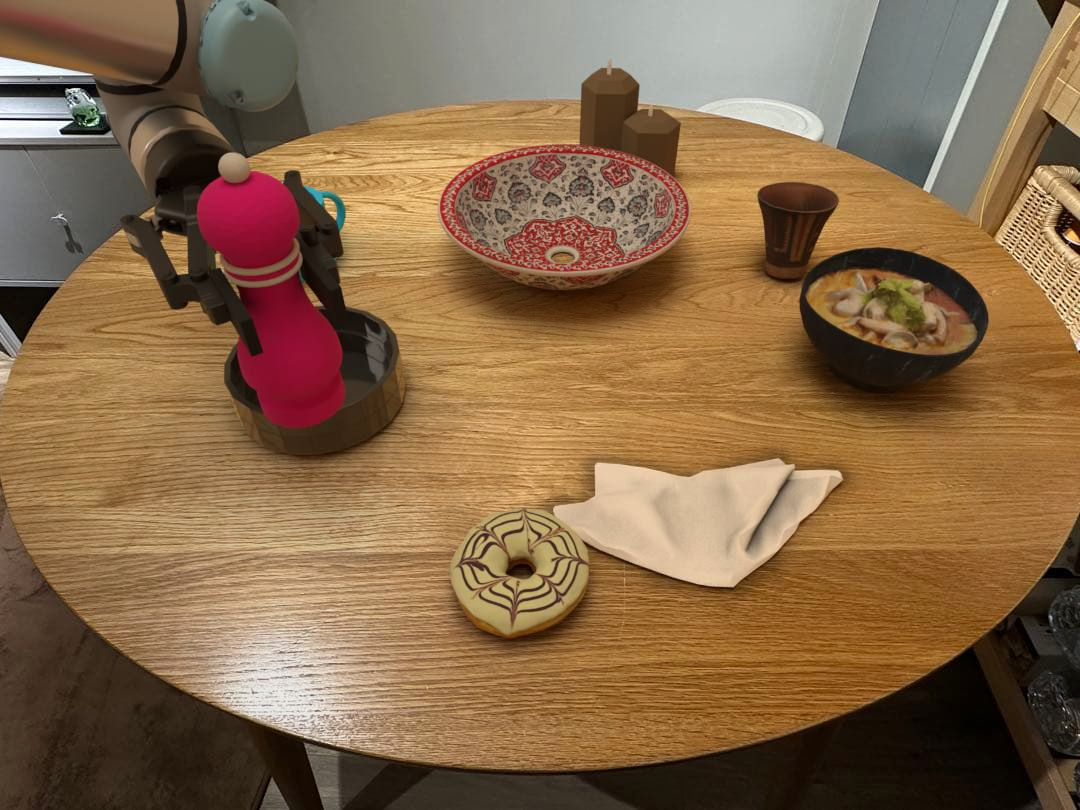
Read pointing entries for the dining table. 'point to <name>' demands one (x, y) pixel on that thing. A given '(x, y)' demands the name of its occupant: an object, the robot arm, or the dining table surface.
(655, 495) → the cloth
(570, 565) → the decorated donut
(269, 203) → the pepper mill
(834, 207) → the cup
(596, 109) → the candle
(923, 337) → the bowl
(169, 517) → the dining table surface
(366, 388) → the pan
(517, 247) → the ceramic bowl
